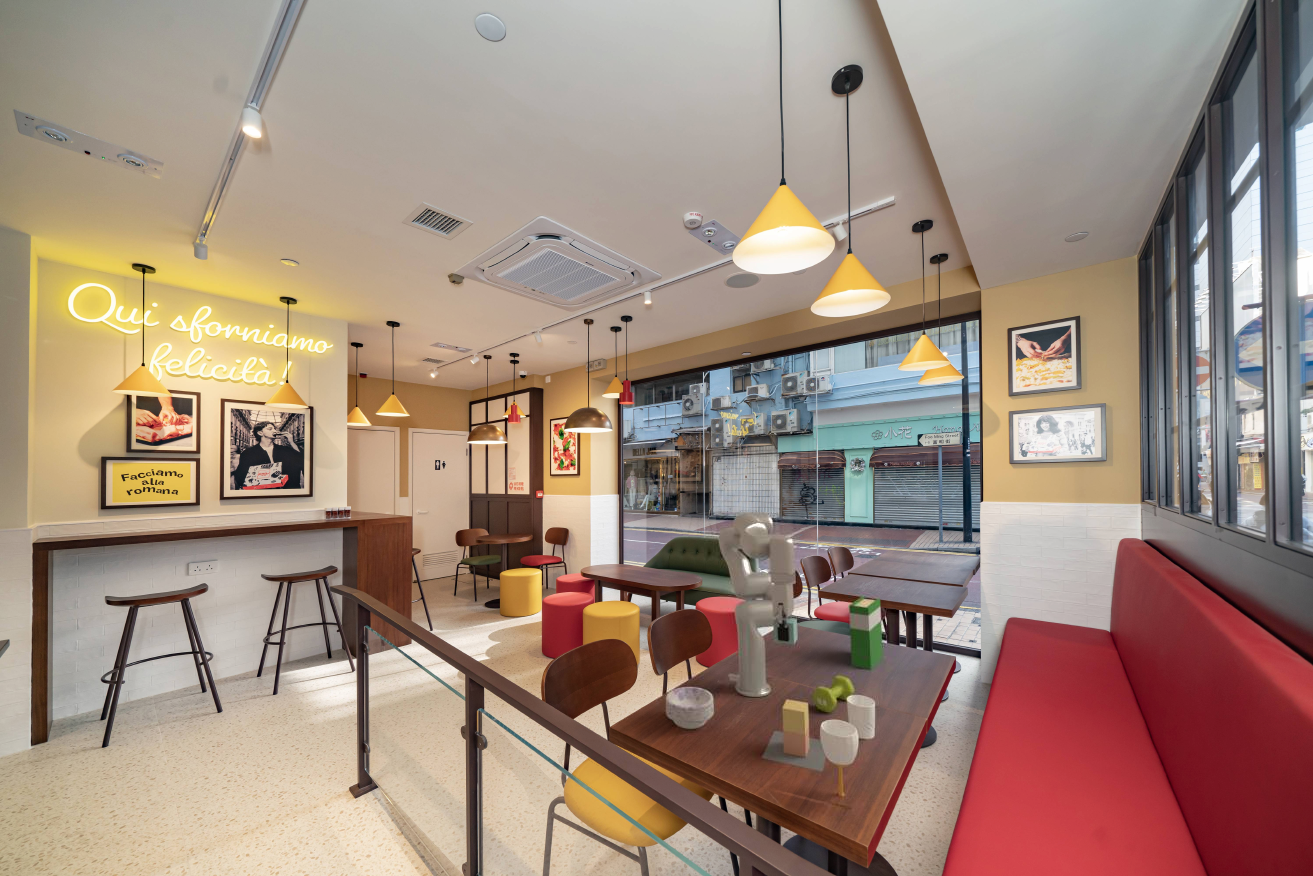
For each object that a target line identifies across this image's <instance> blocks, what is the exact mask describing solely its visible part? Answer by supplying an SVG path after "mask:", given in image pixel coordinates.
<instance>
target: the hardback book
mask: <svg viewBox="0 0 1313 876" xmlns="http://www.w3.org/2000/svg"><path fill="white" fill-rule="evenodd" d="M848 608H849V631H850V632H849V633H850V651H851V655H850V656H851V667H856V668H860V669H865V670H868V671H872V670H873V669H874V668H875V666H876V665H877V664H878V663H879V662H880V661H881V659H882V658H884V657H883V656H884V655H883V654H884V653H883V652H884V651H883V650H884V649H883V637H882V636H883V635H882V634H883V633H882V632H883V631H882V629H883V628H882V611H881V610H882V609H881V599H880V598H877V599H868V598H865V596H861V597H859V598H858V599H857V600H855V601H853V602H851V604H849V606H848Z"/></svg>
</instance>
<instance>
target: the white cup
mask: <svg viewBox="0 0 1313 876" xmlns="http://www.w3.org/2000/svg"><path fill="white" fill-rule="evenodd" d="M846 707H847V718H848V723H850V724H852V725H853V726H854V727H855V728H856V730H857V733H858V738H859V739H861V740H862V739H863V740H870V739H873V738H874V737H875V734H876V733H875V727H876V702H875V700H874V699H873V698H871V697H868V696H866V695H860V694H853V695H851V696H849V697H847V700H846Z"/></svg>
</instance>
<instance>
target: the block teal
mask: <svg viewBox="0 0 1313 876" xmlns="http://www.w3.org/2000/svg"><path fill="white" fill-rule="evenodd" d="M783 620H784V621H785V619H783ZM797 620H798V618H795V617H794V618H793V617H792V618H788V620H787V627H788V628H789V641H779V640H778V629H777V627H778V626H777V623H778V619H777V618H776V619H775V620H774V621H773V643H778V644H779V643H780V644H786V645H787V644H789V645H795V644H796V642H797V640H798V636H799V635H798V621H797Z"/></svg>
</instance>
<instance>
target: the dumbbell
mask: <svg viewBox="0 0 1313 876" xmlns="http://www.w3.org/2000/svg"><path fill="white" fill-rule="evenodd" d="M830 687H831V688H828V687H825V686H818V687H817V688H815V690H814V693H813V694H812V699H813V702H814V704H815V706H816V707H817V709H818V710H819V711H822V712H825V713H829V714H830V713H831V712H832V711H834V709H835V708H836V706H837V704H838V703H837V702H838V700H837V699H839V700H842V701H847V697H849V696H851V695H854V692H855V687H854V685H853V683H852V681H851V680H850V678H848V677H847V676H843V675H842V676H841V675H836V676H835V677H834V678H833V680H832V682H831V683H830Z"/></svg>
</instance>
